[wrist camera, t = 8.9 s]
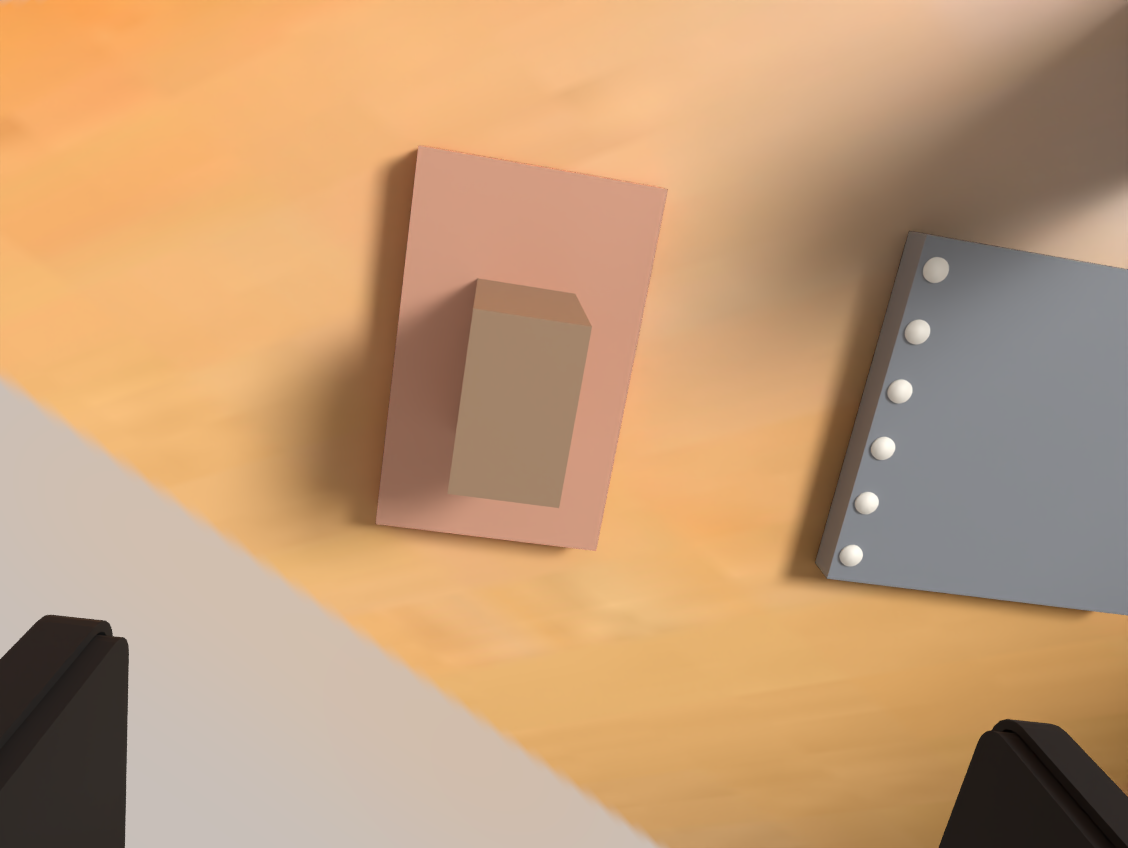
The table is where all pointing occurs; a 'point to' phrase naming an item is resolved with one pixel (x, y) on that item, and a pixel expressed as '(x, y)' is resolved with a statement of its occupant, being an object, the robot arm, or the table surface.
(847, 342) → the table surface
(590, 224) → the pink slab with block
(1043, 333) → the grey dotted square slab
